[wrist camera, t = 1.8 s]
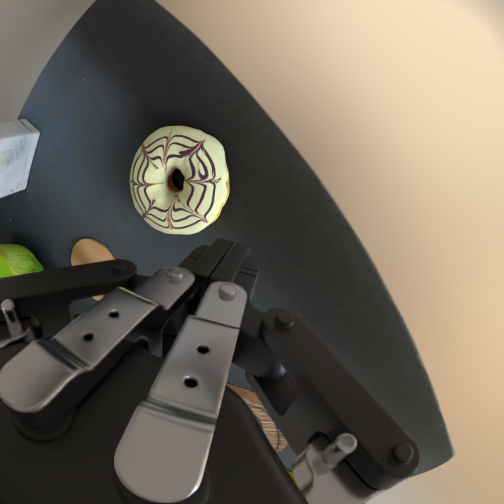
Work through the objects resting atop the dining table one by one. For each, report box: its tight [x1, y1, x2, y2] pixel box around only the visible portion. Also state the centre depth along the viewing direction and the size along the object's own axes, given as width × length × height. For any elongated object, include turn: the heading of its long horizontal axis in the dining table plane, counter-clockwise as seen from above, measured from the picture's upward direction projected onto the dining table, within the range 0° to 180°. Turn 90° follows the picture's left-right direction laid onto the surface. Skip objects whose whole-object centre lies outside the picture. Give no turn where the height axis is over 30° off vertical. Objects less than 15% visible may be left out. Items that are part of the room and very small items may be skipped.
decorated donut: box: [130, 126, 229, 234], centre depth 25 cm, size 10×11×4 cm
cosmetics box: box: [0, 119, 40, 198], centre depth 25 cm, size 10×6×10 cm, turn 144°
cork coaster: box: [71, 238, 115, 301], centre depth 34 cm, size 10×10×1 cm
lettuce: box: [0, 244, 44, 278], centre depth 32 cm, size 15×20×14 cm
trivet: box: [226, 383, 288, 453], centre depth 42 cm, size 25×25×2 cm
